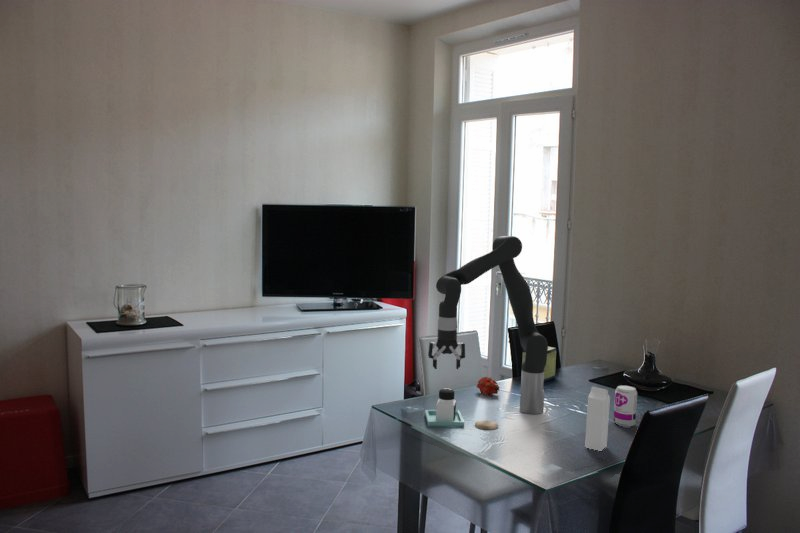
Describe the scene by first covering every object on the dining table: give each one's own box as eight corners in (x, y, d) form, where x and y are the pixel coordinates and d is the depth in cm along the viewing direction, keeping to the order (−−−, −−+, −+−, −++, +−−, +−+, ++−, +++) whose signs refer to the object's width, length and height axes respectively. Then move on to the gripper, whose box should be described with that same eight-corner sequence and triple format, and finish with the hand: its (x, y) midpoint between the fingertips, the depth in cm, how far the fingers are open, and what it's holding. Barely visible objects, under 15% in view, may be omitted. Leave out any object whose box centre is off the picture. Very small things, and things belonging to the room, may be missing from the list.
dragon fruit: (478, 393, 304) (497, 404, 296) (469, 386, 299) (488, 396, 290) (487, 378, 306) (507, 388, 297) (479, 370, 301) (498, 380, 292)
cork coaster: (495, 421, 262) (495, 420, 262) (500, 430, 253) (500, 428, 253) (473, 421, 262) (473, 420, 262) (476, 429, 253) (476, 428, 253)
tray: (459, 415, 269) (459, 410, 269) (464, 427, 255) (464, 422, 255) (425, 414, 268) (425, 409, 268) (428, 426, 254) (428, 421, 254)
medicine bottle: (453, 423, 257) (454, 393, 256) (435, 421, 259) (436, 391, 257) (455, 417, 264) (456, 387, 263) (437, 415, 266) (438, 386, 264)
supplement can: (624, 429, 259) (627, 391, 257) (608, 422, 266) (611, 386, 264) (639, 426, 262) (642, 389, 261) (623, 419, 270) (626, 384, 268)
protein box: (555, 378, 329) (557, 347, 328) (539, 384, 318) (541, 352, 316) (536, 373, 336) (538, 343, 335) (520, 379, 325) (522, 348, 323)
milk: (590, 443, 242) (594, 384, 240) (607, 447, 239) (610, 388, 237) (584, 448, 238) (588, 388, 235) (601, 452, 234) (605, 391, 232)
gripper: (464, 326, 262) (462, 366, 263) (428, 325, 261) (427, 365, 263) (467, 330, 254) (465, 371, 256) (430, 329, 253) (429, 371, 255)
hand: (446, 368), depth 259 cm, fingers open, 8 cm apart
